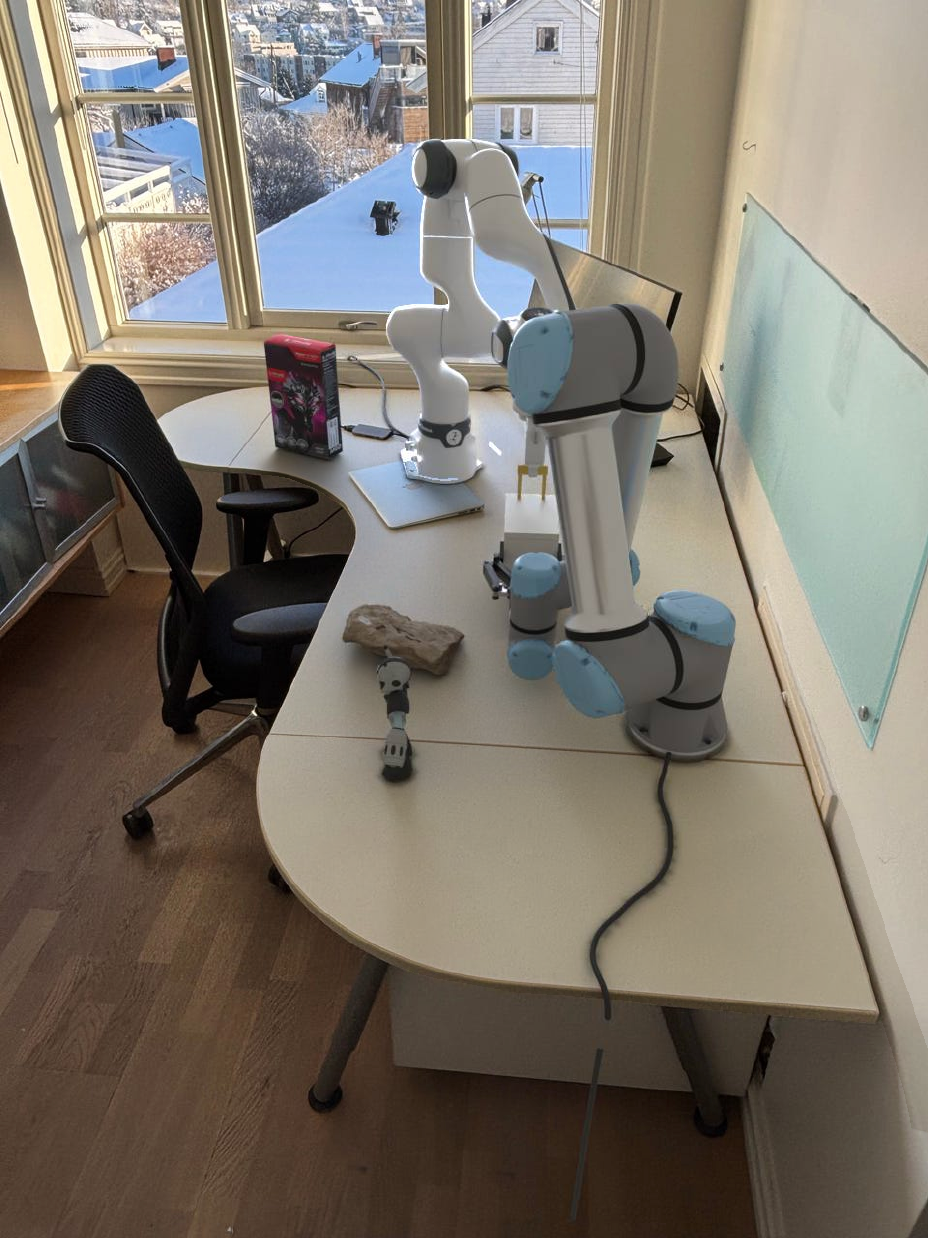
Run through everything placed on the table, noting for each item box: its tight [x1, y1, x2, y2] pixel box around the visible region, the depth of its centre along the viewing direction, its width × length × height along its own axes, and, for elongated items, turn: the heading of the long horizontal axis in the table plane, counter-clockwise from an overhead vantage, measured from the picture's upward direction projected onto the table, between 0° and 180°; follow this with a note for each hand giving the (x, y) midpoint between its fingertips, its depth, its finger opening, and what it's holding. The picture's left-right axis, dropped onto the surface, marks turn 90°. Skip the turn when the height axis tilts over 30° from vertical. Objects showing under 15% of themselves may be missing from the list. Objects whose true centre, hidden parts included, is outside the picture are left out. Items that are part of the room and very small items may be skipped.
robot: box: [375, 645, 413, 783], centre depth 131 cm, size 20×5×20 cm, turn 3°
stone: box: [341, 603, 465, 677], centre depth 158 cm, size 21×15×6 cm
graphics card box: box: [263, 333, 344, 460], centre depth 223 cm, size 17×7×27 cm, turn 62°
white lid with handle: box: [503, 463, 560, 540], centre depth 176 cm, size 16×10×8 cm, turn 177°
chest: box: [501, 537, 560, 588], centre depth 181 cm, size 16×10×10 cm, turn 177°
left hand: (532, 468), depth 180 cm, fingers open, 5 cm apart
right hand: (530, 548), depth 176 cm, fingers closed on chest, 10 cm apart
